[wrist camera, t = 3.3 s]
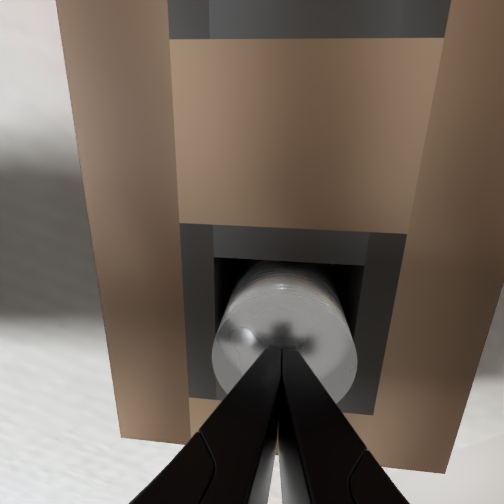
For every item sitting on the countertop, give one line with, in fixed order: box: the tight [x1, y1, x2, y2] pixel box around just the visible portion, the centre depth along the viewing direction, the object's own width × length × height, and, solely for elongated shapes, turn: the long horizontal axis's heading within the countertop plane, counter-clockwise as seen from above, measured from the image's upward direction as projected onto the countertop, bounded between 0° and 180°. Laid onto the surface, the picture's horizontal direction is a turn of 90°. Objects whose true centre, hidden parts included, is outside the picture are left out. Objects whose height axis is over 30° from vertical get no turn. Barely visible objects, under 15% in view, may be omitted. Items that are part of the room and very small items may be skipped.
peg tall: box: [212, 259, 357, 404], centre depth 11 cm, size 4×4×5 cm
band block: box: [56, 0, 504, 474], centre depth 11 cm, size 12×22×5 cm, turn 179°
